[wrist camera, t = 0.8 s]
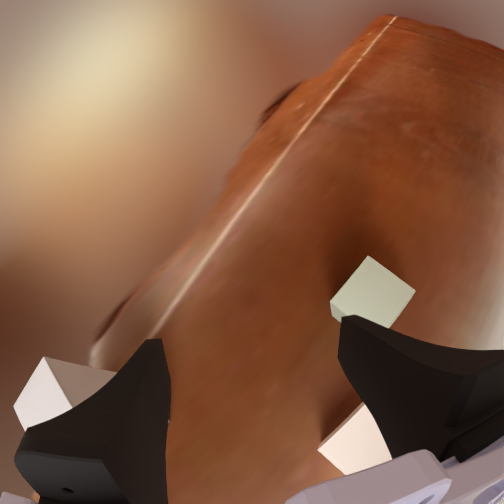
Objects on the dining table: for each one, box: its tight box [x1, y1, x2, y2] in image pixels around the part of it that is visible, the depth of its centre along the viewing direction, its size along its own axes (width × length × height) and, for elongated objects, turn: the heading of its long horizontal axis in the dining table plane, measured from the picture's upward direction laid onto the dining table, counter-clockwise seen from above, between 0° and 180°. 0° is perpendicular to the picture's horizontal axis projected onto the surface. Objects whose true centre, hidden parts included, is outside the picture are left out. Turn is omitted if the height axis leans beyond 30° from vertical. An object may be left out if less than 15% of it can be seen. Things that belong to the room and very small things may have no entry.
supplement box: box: [14, 357, 170, 431], centre depth 24 cm, size 7×7×13 cm
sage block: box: [330, 256, 415, 328], centre depth 26 cm, size 5×5×5 cm
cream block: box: [318, 402, 392, 475], centre depth 21 cm, size 8×8×4 cm
